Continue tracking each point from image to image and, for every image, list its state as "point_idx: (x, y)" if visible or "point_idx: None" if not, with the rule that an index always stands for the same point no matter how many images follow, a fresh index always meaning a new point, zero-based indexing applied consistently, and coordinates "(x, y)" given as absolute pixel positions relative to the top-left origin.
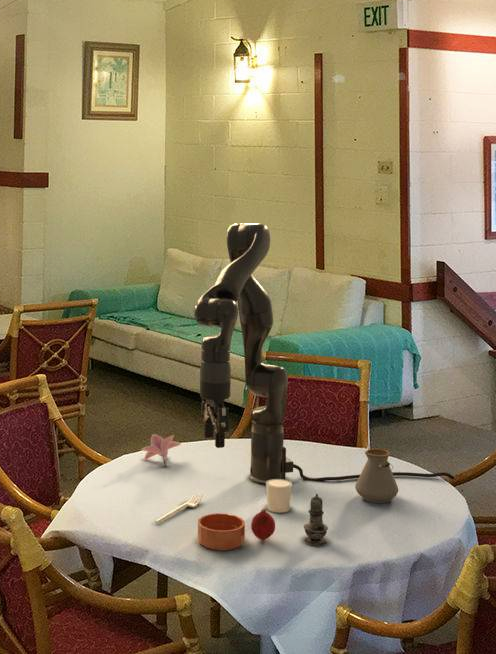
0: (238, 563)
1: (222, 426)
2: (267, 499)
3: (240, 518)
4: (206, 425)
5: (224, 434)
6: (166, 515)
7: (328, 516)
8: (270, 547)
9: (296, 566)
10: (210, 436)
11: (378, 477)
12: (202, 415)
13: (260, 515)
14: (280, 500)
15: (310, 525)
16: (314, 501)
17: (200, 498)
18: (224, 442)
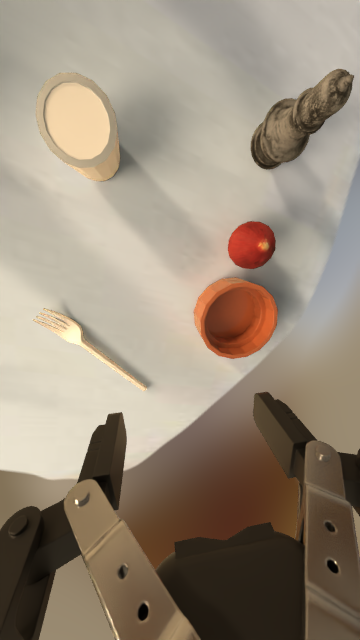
0: (298, 305)
1: (312, 481)
2: (92, 176)
3: (233, 286)
4: (119, 494)
5: (300, 433)
6: (128, 376)
7: (155, 35)
8: None
9: (337, 224)
10: (122, 423)
11: None
12: (52, 574)
13: (268, 255)
14: (118, 149)
15: (293, 145)
16: (343, 104)
17: (52, 313)
18: (277, 403)
